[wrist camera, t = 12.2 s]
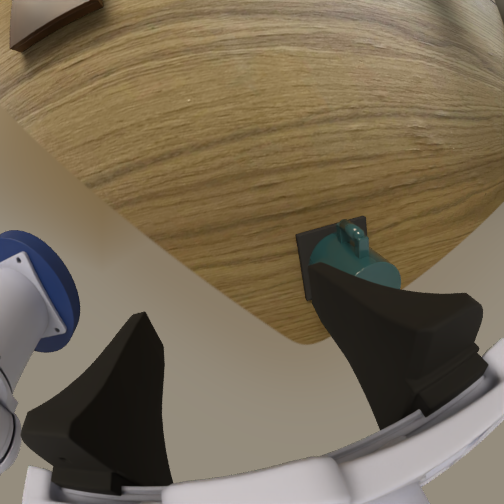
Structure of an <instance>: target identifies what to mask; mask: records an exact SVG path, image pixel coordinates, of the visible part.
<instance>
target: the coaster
mask: <svg viewBox="0 0 504 504" xmlns="http://www.w3.org/2000/svg"><path fill="white" fill-rule="evenodd" d="M349 221H350V222H352V223H353V224H355V225H356V226H358V227H359V228H361V229H362V230H363V231H364V233H365V235H366V236H367V228H366V217H365V216H360V217H356V218H353V219H349ZM336 232H337V229H336V223H335V224H331V225H328V226H324V227H321V228H317V229H314V230H310V231H306V232H303V233H299V234H296V241H297V246H298V252H299V259H300V265H301V271H302V277H303V284H304V291H305V298H306V300H307V301H309V300H312V297H311V289H310V281H309V274H308V266H309V261H310V257H311V254H312V252H313V250H314V248H315V246H316V245H317V244H318V243H319V242H320V241H321V240H322V239H323V238H325V237H326V236H328V235H330V234H332V233H336Z"/></svg>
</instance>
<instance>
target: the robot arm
mask: <svg viewBox="0 0 504 504" xmlns="http://www.w3.org/2000/svg"><path fill="white" fill-rule="evenodd" d="M19 258H20V259H21V261H20V260H19ZM308 274H309V281H310V289H311V297H312V304H313V306H314V308H315V310H316V312H317V314H318V316H319V318H320V320H321V322H322V323H323V325H324V326H325V328H326V329H327V331H328V332H329V334H330V335H331V336H332V338H333V339H334V341H335V342H336V343H337V345H338V347H339V348H340V349H341V351H342V352H343V353H344V355H345V357H346V358H347V360H348V362H349V363H350V365H351V367H352V369H353V371H354V373H355V375H356V377H357V379H358V381H359V383H360V385H361V387H362V389H363V391H364V393H365V395H366V398H367V400H368V402H369V404H370V406H371V409H372V411H373V414H374V416H375V418H376V421H377V424H378V426H379V428H380V431H378V432H376V433H374V434H372V435H370V436H368V437H366V438H363V439H361V440H359V441H357V442H355V443H352V444H350V445H347V446H345V447H343V448H340V449H338V450H335V451H332V452H330V453H327V454H324V455H322V456H317V457H307V458H303V459H299V460H294V461H290V462H286V463H282V464H279V465H275V466H271V467H268V468H263V469H259V470H254V471H250V472H245V473H240V474H235V475H229V476H223V477H216V478H209V479H200V480H191V481H185V482H179V483H173V480H172V477H171V473H170V469H169V464H168V459H167V454H166V448H165V441H164V433H163V422H162V395H163V381H164V366H165V363H164V347H163V344H162V342H161V340H160V338H159V337H158V335H157V333H156V331H155V329H154V327H153V325H152V324H151V322H150V320H149V318H148V316H147V314H146V312H141V313H137V314H133V315H132V316H131V317H130V318H129V319H128V321H127V322H126V323H125V324H124V326H123V327H122V328H121V329H120V331H119V332H118V333H117V334H116V336H115V337H114V338H113V340H112V341H111V342H110V344H109V345H108V346H107V347H106V348H105V349H104V351H103V352H102V353H101V354H100V355H99V357H98V358H97V359H96V360H95V361H94V363H92V364H91V366H90V367H89V368H88V369H87V370H86V371H85V372H84V373H83V374H82V375H81V376H79V377H78V378H77V379H76V380H75V381H74V382H72V383H71V384H70V385H69V386H68V387H67V388H65V389H64V390H63V391H61V392H60V393H59V394H57V395H56V396H54V397H53V398H52V399H50V400H48V401H47V402H45V403H43V404H42V405H40V406H38V407H36V408H35V409H33V410H31V411H29V412H28V413H27V416H26V419H25V421H24V425H23V427H22V430H21V424H20V421H19V419H18V417H17V416H16V414H15V413H14V412H15V409H16V407H17V404H18V402H17V400H16V399H15V398H14V397H13V395H12V394H13V392H14V389H15V387H16V385H17V383H18V381H19V378H20V377H21V374H22V372H23V370H24V368H25V366H26V364H27V362H28V361H29V359H30V357H31V355H32V353H33V351H34V349H35V348H36V346H37V344H38V342H39V340H40V339H41V338H45V337H49V336H54V335H58V334H63V333H65V332H66V330H67V327H66V325H65V323H64V322H63V320H62V319H61V317H60V315H59V314H58V312H57V310H56V309H55V307H54V305H53V303H52V302H51V300H50V298H49V296H48V294H47V293H46V291H45V289H44V287H43V285H42V283H41V281H40V279H39V277H38V275H37V273H36V271H35V269H34V267H33V265H32V263H31V261H30V259H29V256H28V255H27V253H26V252H24V251H22V252H20V253H18V254H16V255H14V256H12V257H10V258H8V259H6V260H4V261H2V262H0V475H1V474H2V473H3V472H4V471H6V470H7V469H9V468H10V467H11V466H12V465H13V463H14V462H15V460H16V458H17V456H18V454H19V451H20V447H21V438H22V440H23V442H24V443H25V444H26V445H27V446H28V447H29V448H30V449H31V450H33V451H34V452H35V453H36V454H38V455H39V456H40V457H42V458H43V459H44V460H46V461H47V462H48V463H50V464H51V465H53V472H52V471H49V470H47V469H44V468H39V467H35V466H31V465H30V466H29V467H28V471H27V476H26V481H25V487H24V492H23V499H22V504H430V503H429V501H428V499H427V497H426V495H425V494H424V492H423V490H422V488H421V487H422V486H424V485H425V484H427V483H428V482H430V481H431V480H433V479H434V478H436V477H437V476H439V475H440V474H441V473H443V472H444V471H445V470H447V469H448V468H450V467H451V466H452V465H453V464H455V463H456V462H457V461H459V460H460V459H461V458H462V457H464V456H465V455H466V454H467V453H468V452H470V451H471V450H472V449H473V448H474V447H475V446H477V445H478V444H479V443H480V442H481V441H482V440H483V439H484V438H485V437H487V436H488V435H489V434H490V433H491V432H492V431H493V430H494V429H495V428H496V427H497V426H498V425H499V424H500V423H501V422H502V421H503V420H504V338H501V339H499V340H498V341H497V342H496V343H495V344H494V345H493V346H492V347H491V348H489V349H488V350H487V351H486V352H485V354H484V355H483V356H482V357H481V356H480V355H479V354H478V353H477V352H478V351H479V347H478V346H477V345H476V344H475V343H474V341H475V338H476V336H477V333H478V331H479V328H480V325H481V322H482V318H483V309H482V306H481V304H479V303H478V302H477V301H476V300H474V299H473V298H472V297H471V296H469V295H468V294H467V293H454V294H433V293H421V292H412V291H406V290H401V289H396V288H391V287H387V286H383V285H380V284H376V283H373V282H370V281H367V280H364V279H362V278H359V277H356V276H354V275H351V274H349V273H347V272H344V271H342V270H339V269H337V268H335V267H332V266H330V265H328V264H325V263H323V262H318V263H315V264H312V265H309V266H308ZM57 328H58V329H57Z"/></svg>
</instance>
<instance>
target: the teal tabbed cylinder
mask: <svg viewBox="0 0 504 504" xmlns="http://www.w3.org/2000/svg"><path fill="white" fill-rule="evenodd" d="M336 229H337V232H336V233H332V234H330V235H328V236H326V237H325V238H323V239H322V240H321V241H320V242H319V243H318V244H317V245H316V246H315V248H314V250H313V252H312V254H311V257H310V261H309V265H312V264H315V263H318V262H323V263H325V264H328V265H330V266H332V267H335V268H337V269H339V270H342V271H344V272H347V273H349V274H351V275H354V276H356V277H359V278H362V279H364V280H367V281H370V282H373V283H376V284H380V285H383V286H387V287H391V288H396V289H400V287H401V277H400V273H399V271H398V269H397V268H396V267H395V266H394V265H393V264H391V263H390V262H389V261H388V260H386V259H385V258H384V257H382V256H381V255H380V254H378V253H377V252H376V251H374V250H373V249H372V248H370V247H369V238H368V237H367V236H366V235H365V233H364V231H363V230H362V229H361V228H359V227H358V226H356V225H355V224H353V223H352V222H350V221H349V220H347V219H343V220H341V221H340V222H339V223H336Z"/></svg>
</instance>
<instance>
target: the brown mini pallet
mask: <svg viewBox="0 0 504 504" xmlns="http://www.w3.org/2000/svg"><path fill="white" fill-rule="evenodd" d="M102 7H103V0H12V8H11V20H10V49H12V50H16V51H18V52H23V51H25V50H26V49H28V48H29V47H31V46H32V45H34V44H35V43H37V42H38V41H40V40H41V39H43V38H44V37H46V36H48V35H49V34H51V33H53V32H54V31H56V30H58V29H60V28H61V27H63V26H65V25H67V24H69V23H71V22H73V21H75V20H77V19H78V18H80V17H83V16H85V15H87V14H89V13H91V12H93V11H95V10H98V9H100V8H102Z"/></svg>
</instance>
